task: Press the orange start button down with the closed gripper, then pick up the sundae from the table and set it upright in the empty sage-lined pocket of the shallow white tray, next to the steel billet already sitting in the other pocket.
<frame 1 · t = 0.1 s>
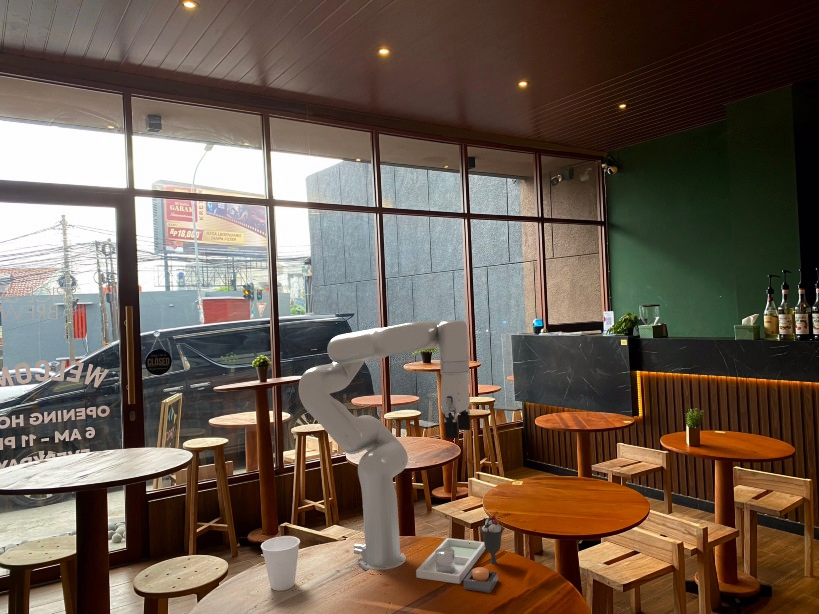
hand: (458, 433, 154), 37 cm above the table, tool pointing down, fingers open, 9 cm apart
steel billet: (445, 570, 154), point 1 cm above the table, touching shallow white tray
shallow white tray: (453, 566, 159), on the table
sundae: (494, 567, 157), on the table
cup: (282, 586, 153), on the table
button housing: (481, 588, 145), on the table
button cap: (480, 575, 145), point 3 cm above the table, slide at 0.0 cm
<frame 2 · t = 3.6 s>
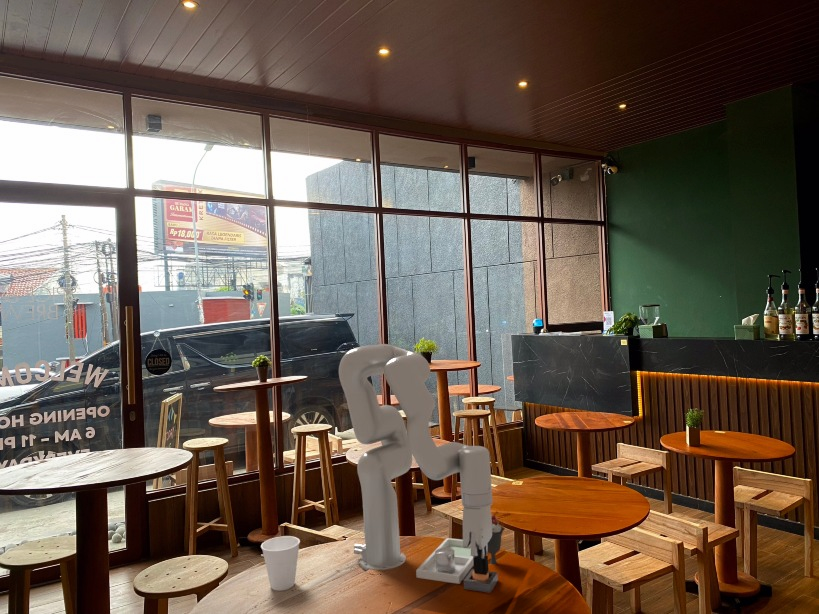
hand: (481, 572, 145), 4 cm above the table, tool pointing down, fingers closed
button cap: (480, 577, 145), point 3 cm above the table, slide at 0.5 cm, touching gripper
everything else where it was.
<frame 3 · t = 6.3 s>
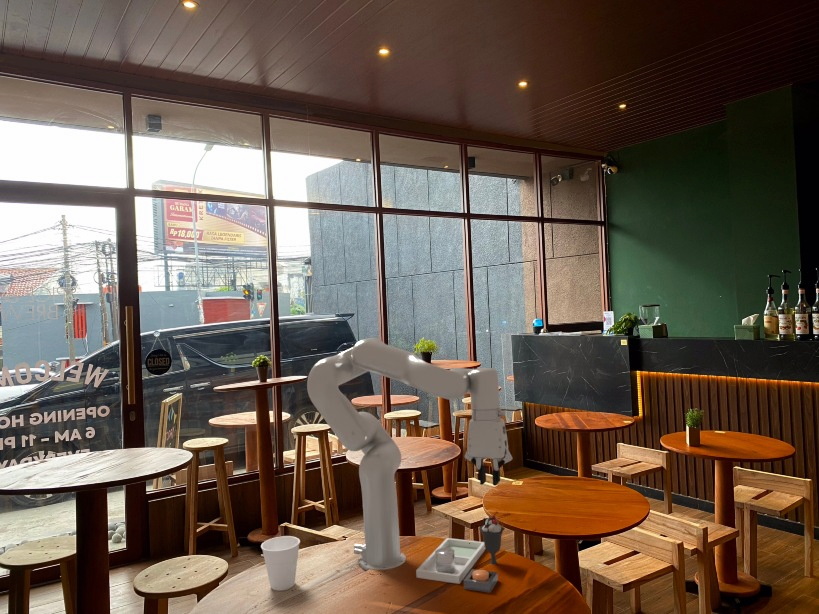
hand: (489, 483, 158), 22 cm above the table, tool pointing down, fingers closed
button cap: (480, 578, 145), point 3 cm above the table, slide at 0.6 cm
everything else where it was.
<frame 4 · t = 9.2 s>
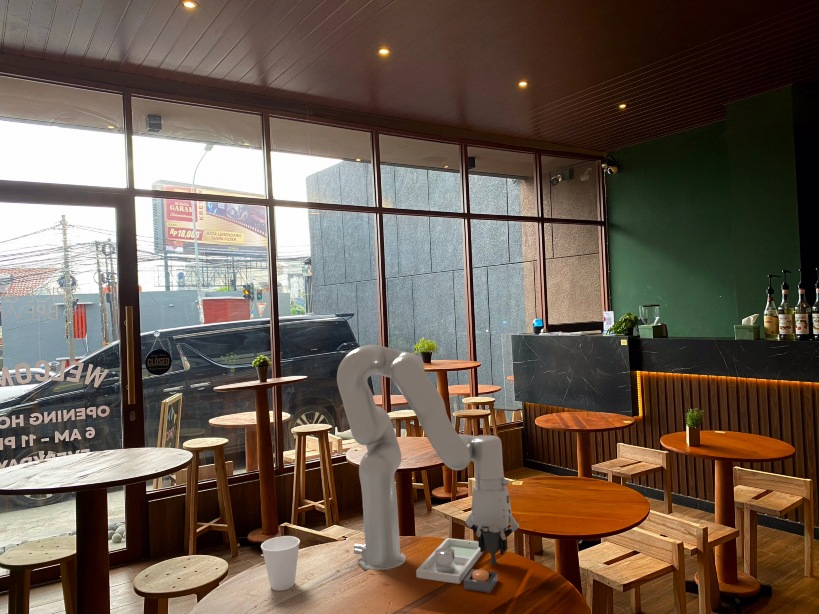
hand: (493, 550, 157), 4 cm above the table, tool pointing down, fingers closed on sundae, 4 cm apart
sundae: (494, 567, 157), on the table, touching gripper
everything else where it was.
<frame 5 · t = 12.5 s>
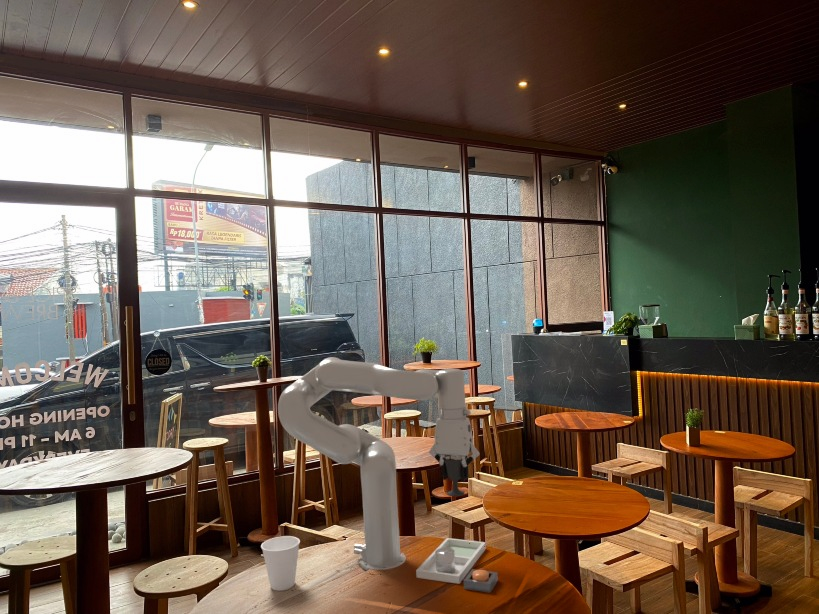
hand: (455, 478, 164), 22 cm above the table, tool pointing down, fingers closed on sundae, 4 cm apart
sundae: (456, 494, 164), point 18 cm above the table, touching gripper
everything else where it was.
when the fingers open (7 cm above the table, at t = 15.7 s): sundae moves 2 cm, resting on shallow white tray.
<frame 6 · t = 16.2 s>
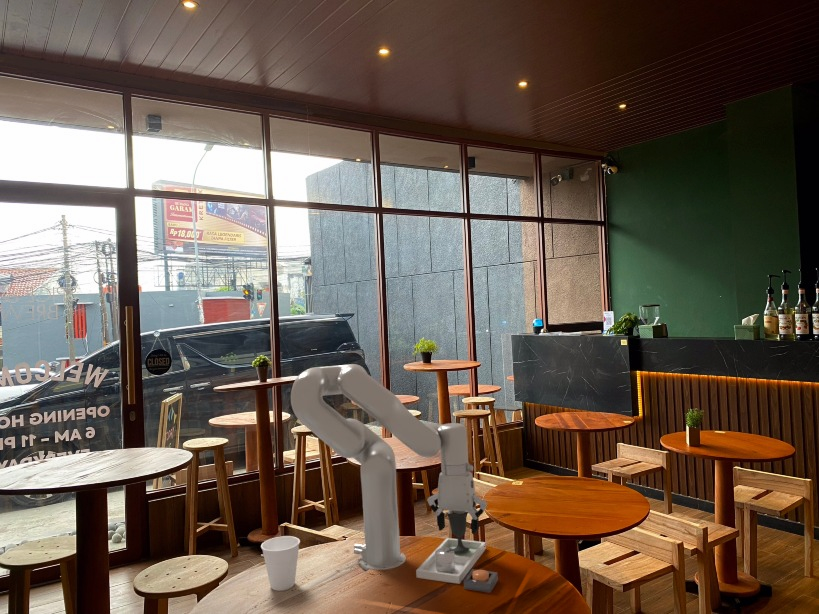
hand: (458, 530, 164), 8 cm above the table, tool pointing down, fingers open, 9 cm apart
sundae: (460, 550, 165), point 1 cm above the table, touching shallow white tray
everything else where it was.
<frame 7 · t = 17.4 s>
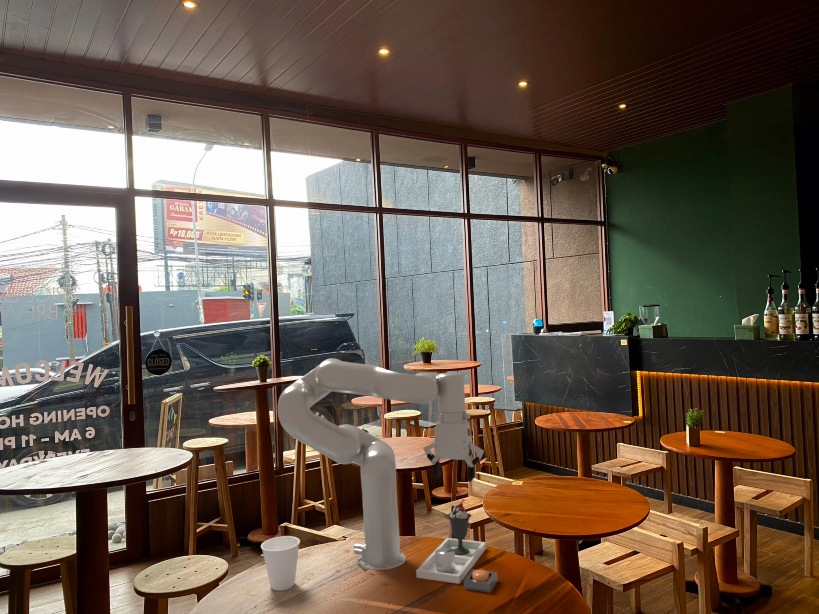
hand: (454, 479, 164), 22 cm above the table, tool pointing down, fingers open, 9 cm apart
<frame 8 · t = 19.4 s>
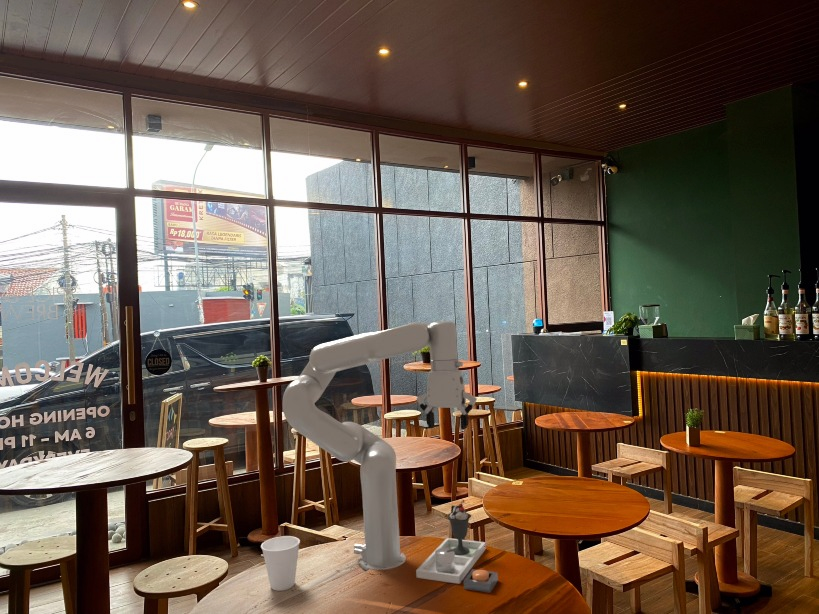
hand: (447, 428, 163), 36 cm above the table, tool pointing down, fingers open, 9 cm apart
at the end: sundae 1.6 cm from the target spot on the shallow white tray, point 0.9 cm above the shallow white tray's base; sundae tilted 0°; button cap slide at 0.6 cm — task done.
